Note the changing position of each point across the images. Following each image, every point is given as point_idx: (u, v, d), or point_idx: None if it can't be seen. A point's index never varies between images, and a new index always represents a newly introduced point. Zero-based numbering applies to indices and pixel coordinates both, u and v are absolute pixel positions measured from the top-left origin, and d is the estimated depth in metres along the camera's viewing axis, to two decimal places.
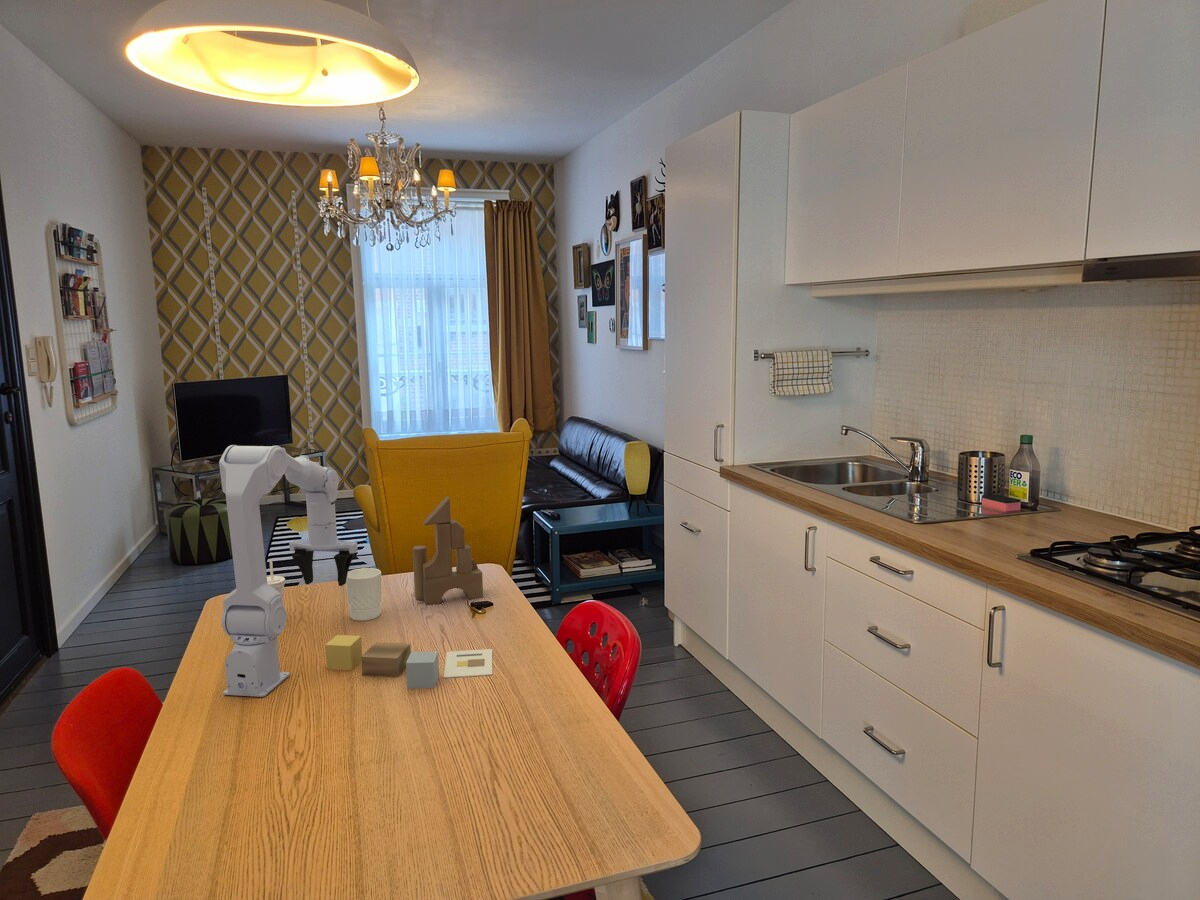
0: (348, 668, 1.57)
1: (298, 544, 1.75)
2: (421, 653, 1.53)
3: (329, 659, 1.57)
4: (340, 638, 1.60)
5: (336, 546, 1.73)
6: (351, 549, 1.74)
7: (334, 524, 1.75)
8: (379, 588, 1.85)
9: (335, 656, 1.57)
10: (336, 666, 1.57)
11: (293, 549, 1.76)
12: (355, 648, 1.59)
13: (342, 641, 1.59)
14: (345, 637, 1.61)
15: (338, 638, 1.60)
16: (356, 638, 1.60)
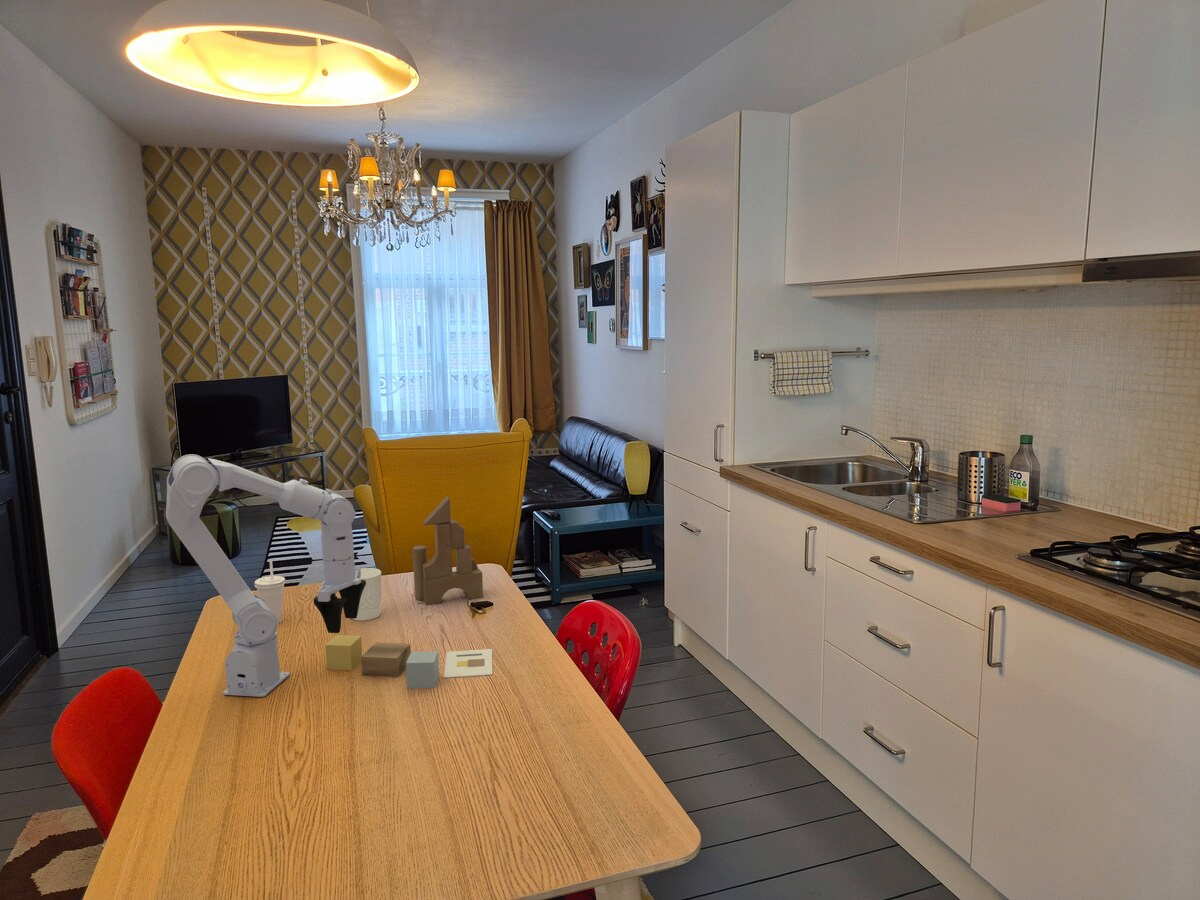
0: (348, 668, 1.57)
1: None
2: (421, 653, 1.53)
3: (329, 659, 1.57)
4: (340, 638, 1.60)
5: None
6: None
7: (331, 563, 1.54)
8: (379, 588, 1.85)
9: (335, 656, 1.57)
10: (336, 666, 1.57)
11: None
12: (355, 648, 1.59)
13: (342, 641, 1.59)
14: (345, 637, 1.61)
15: (338, 638, 1.60)
16: (356, 638, 1.60)
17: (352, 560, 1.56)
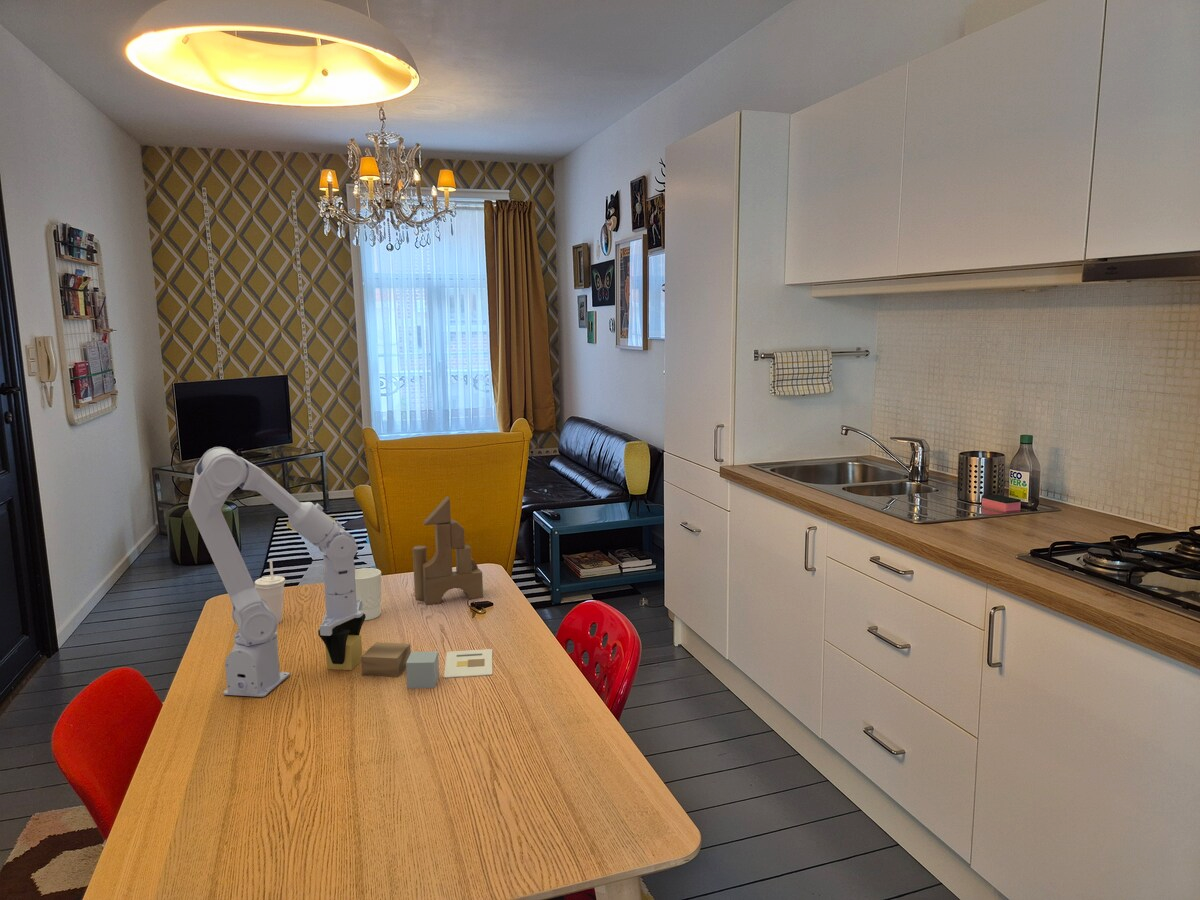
0: (348, 668, 1.57)
1: None
2: (421, 653, 1.53)
3: (329, 658, 1.57)
4: None
5: None
6: None
7: (334, 596, 1.55)
8: (379, 588, 1.85)
9: None
10: (336, 665, 1.57)
11: None
12: (355, 648, 1.59)
13: None
14: None
15: None
16: (356, 637, 1.60)
17: (354, 593, 1.57)
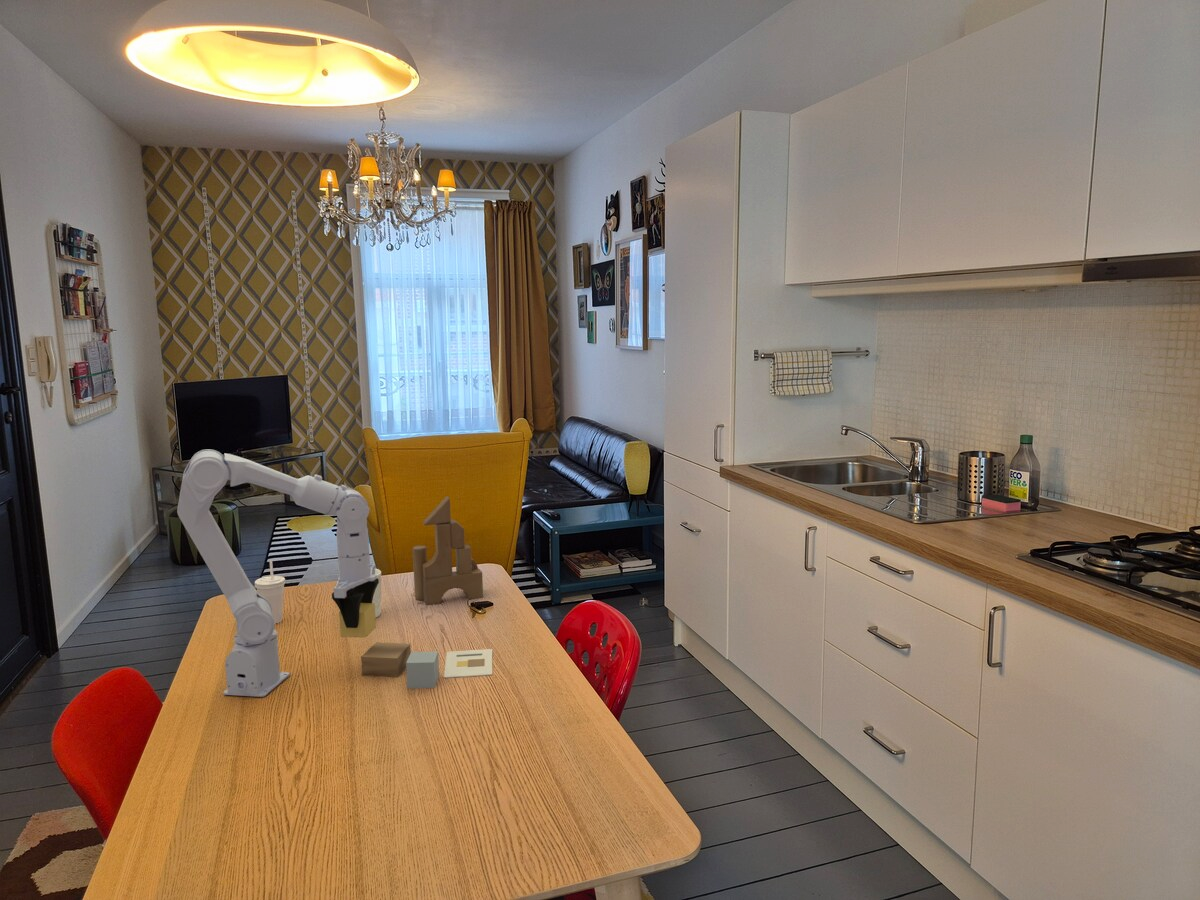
0: (362, 635, 1.56)
1: None
2: (421, 653, 1.53)
3: (343, 626, 1.56)
4: None
5: (337, 583, 1.53)
6: None
7: (347, 559, 1.53)
8: (379, 588, 1.85)
9: None
10: (350, 633, 1.56)
11: None
12: (369, 615, 1.57)
13: None
14: None
15: None
16: (370, 605, 1.58)
17: (367, 556, 1.55)
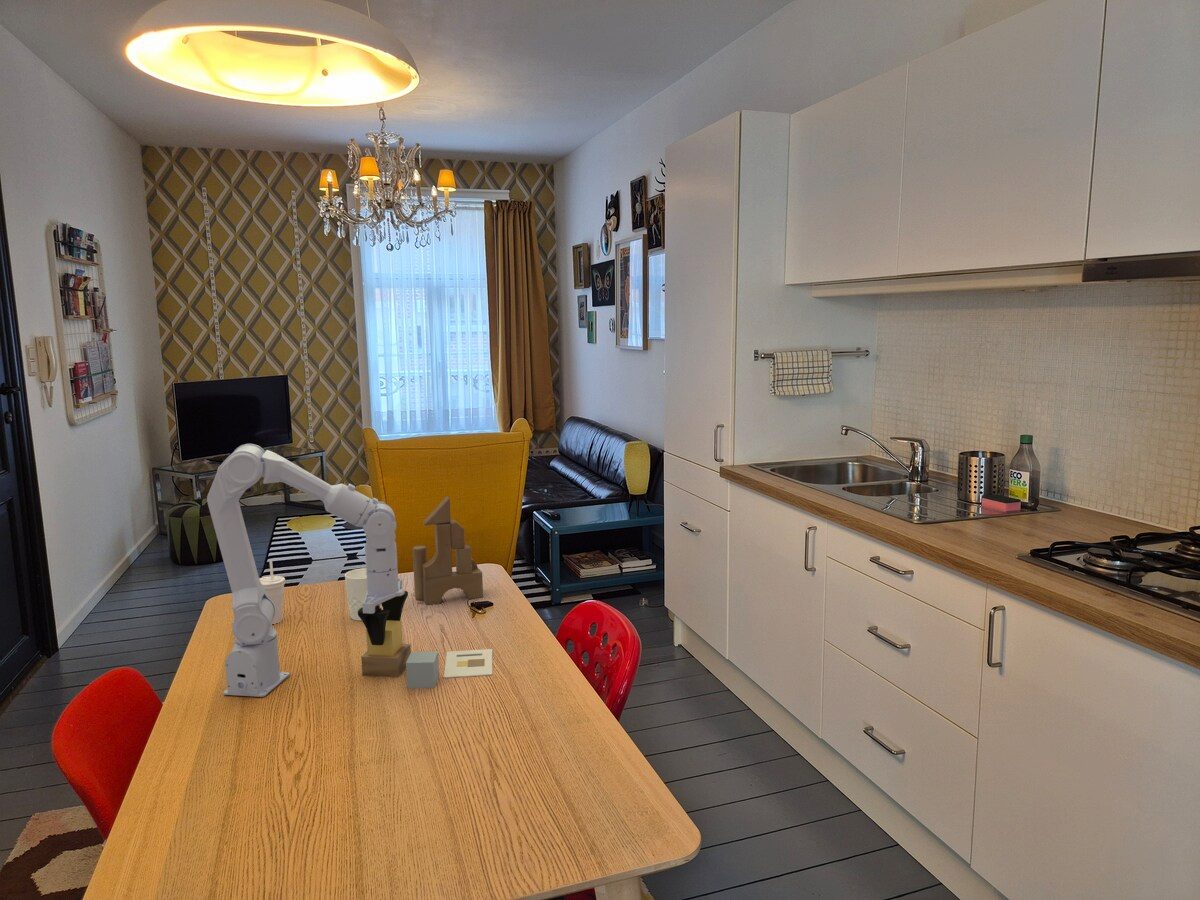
0: (389, 653, 1.55)
1: None
2: (421, 653, 1.53)
3: (370, 644, 1.55)
4: None
5: None
6: None
7: (376, 574, 1.52)
8: None
9: None
10: (377, 651, 1.55)
11: None
12: (396, 633, 1.56)
13: None
14: None
15: None
16: (397, 623, 1.57)
17: (396, 571, 1.54)
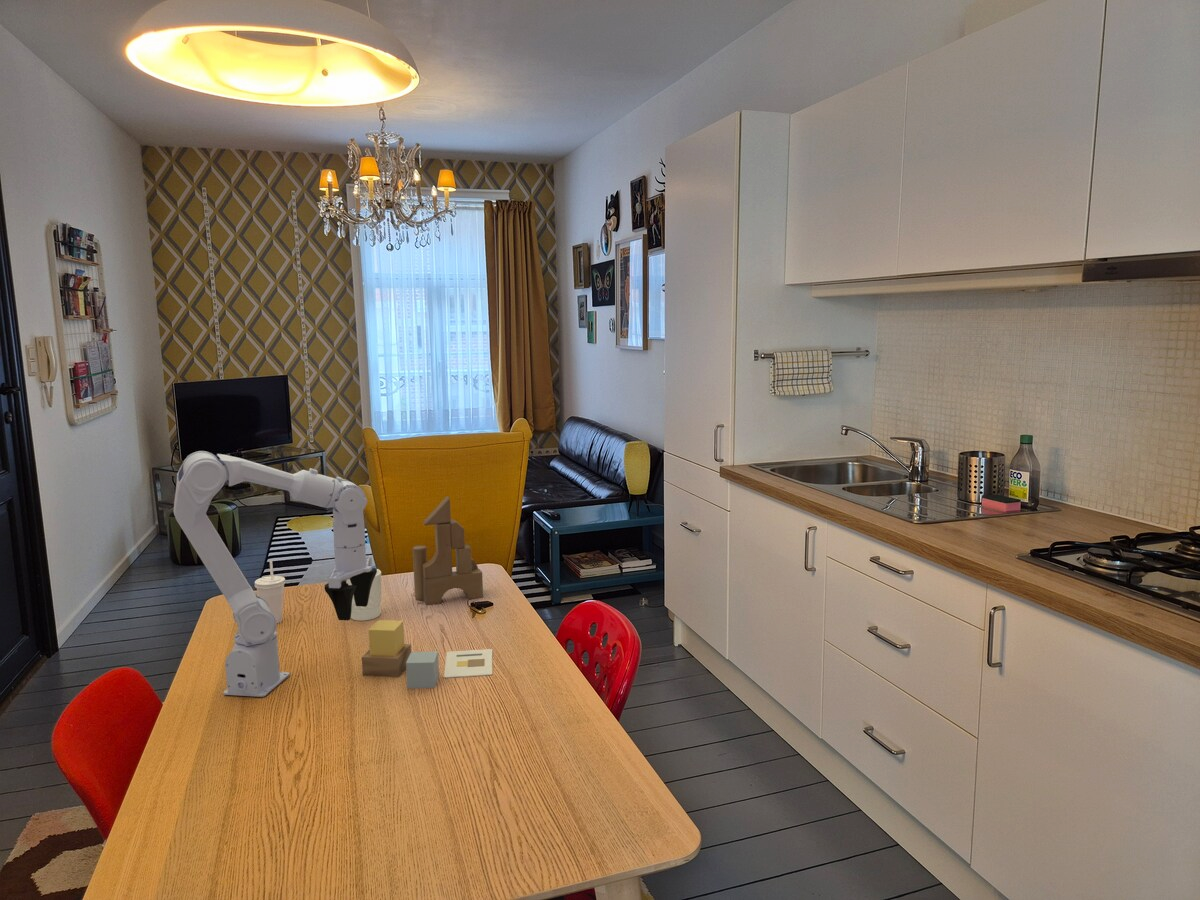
0: (392, 653, 1.55)
1: None
2: (421, 653, 1.53)
3: (372, 644, 1.55)
4: (382, 623, 1.57)
5: None
6: None
7: (343, 550, 1.54)
8: (379, 588, 1.85)
9: (379, 641, 1.54)
10: (380, 651, 1.55)
11: None
12: (399, 633, 1.56)
13: (384, 626, 1.56)
14: (387, 622, 1.58)
15: (380, 623, 1.57)
16: (399, 623, 1.58)
17: (363, 548, 1.56)
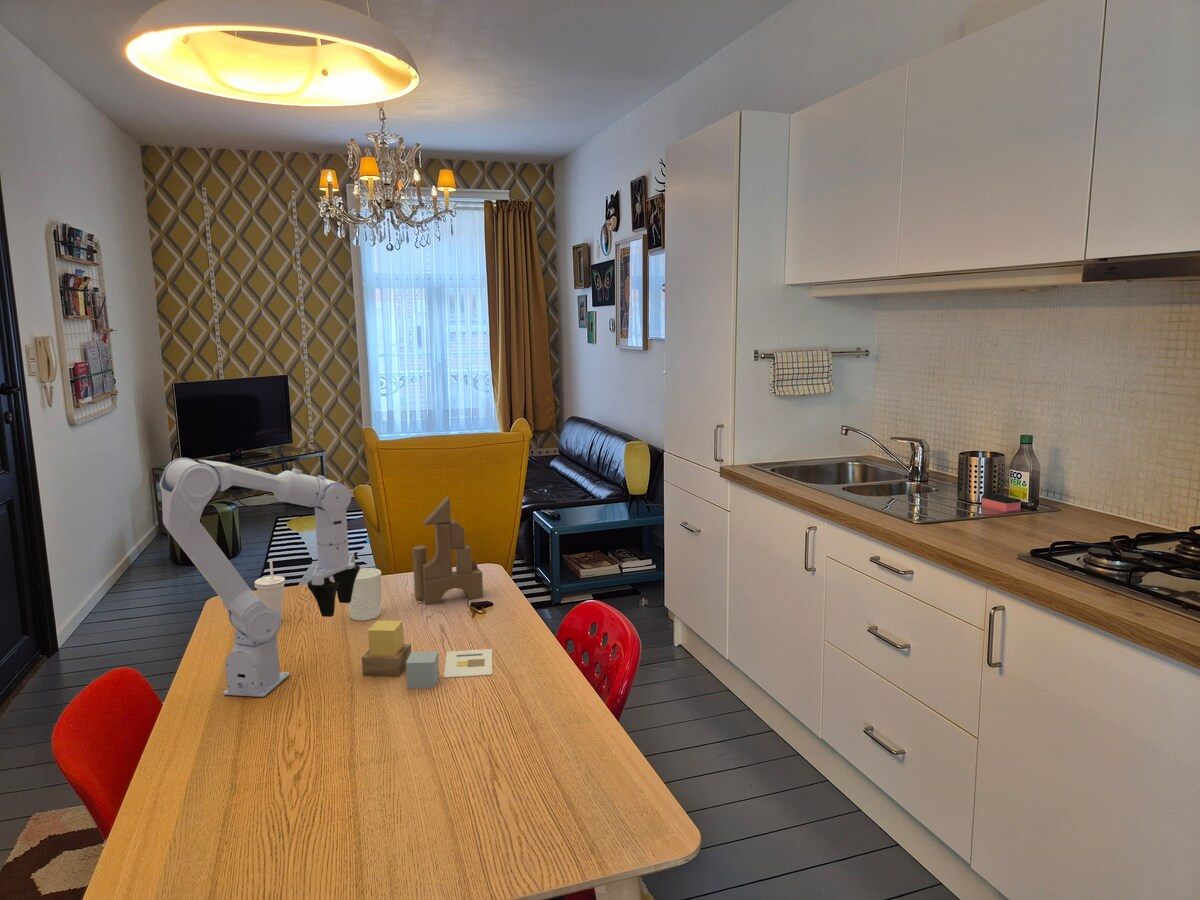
0: (392, 653, 1.55)
1: None
2: (421, 653, 1.53)
3: (372, 645, 1.54)
4: (381, 624, 1.57)
5: (315, 570, 1.56)
6: None
7: (325, 547, 1.56)
8: (379, 588, 1.85)
9: (379, 641, 1.54)
10: (379, 652, 1.55)
11: None
12: (398, 633, 1.56)
13: (384, 626, 1.56)
14: (386, 622, 1.58)
15: (379, 623, 1.57)
16: (398, 623, 1.57)
17: (346, 545, 1.58)
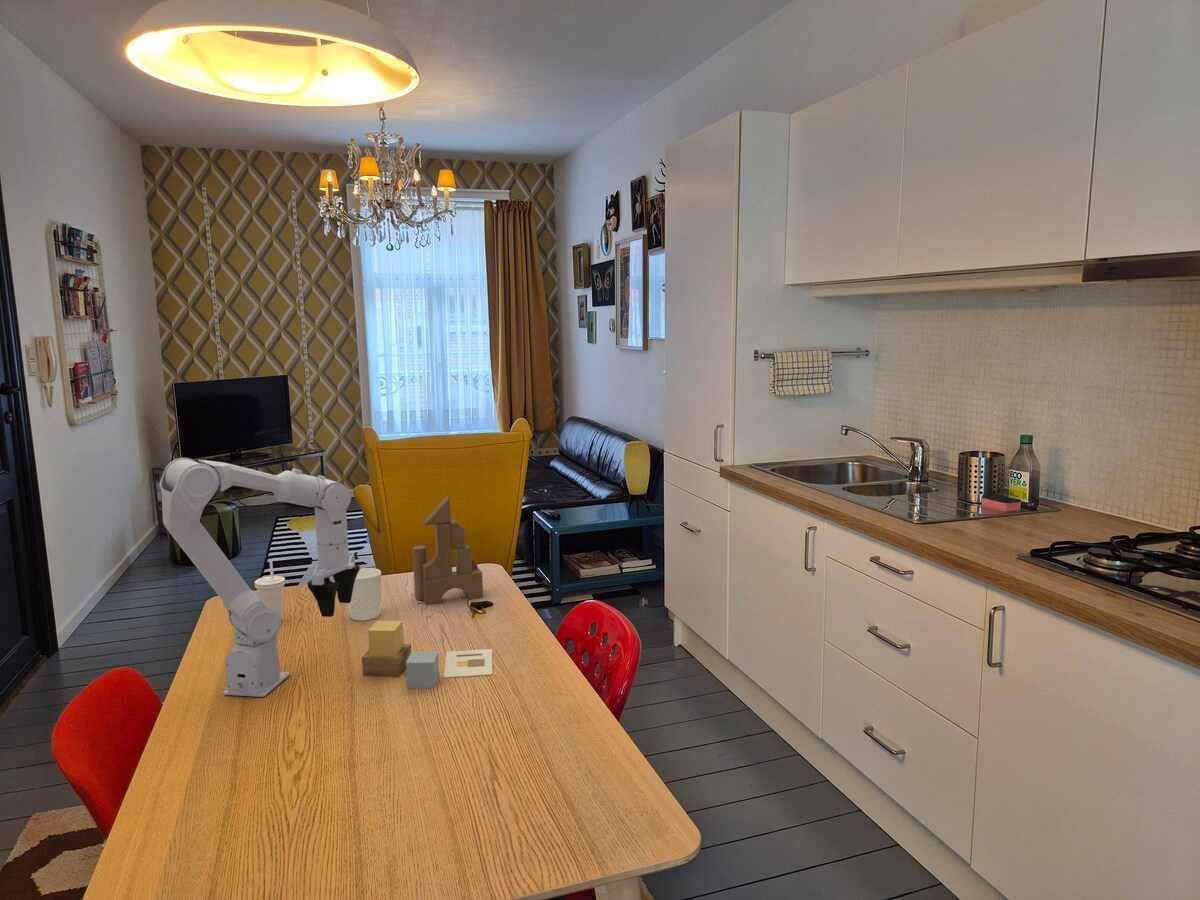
0: (392, 654, 1.54)
1: None
2: (421, 653, 1.53)
3: (372, 645, 1.54)
4: (381, 624, 1.57)
5: (315, 570, 1.56)
6: None
7: (325, 547, 1.56)
8: (379, 588, 1.85)
9: (379, 641, 1.54)
10: (379, 652, 1.54)
11: None
12: (398, 633, 1.56)
13: (384, 626, 1.56)
14: (386, 622, 1.58)
15: (379, 624, 1.57)
16: (398, 623, 1.57)
17: (346, 545, 1.58)
